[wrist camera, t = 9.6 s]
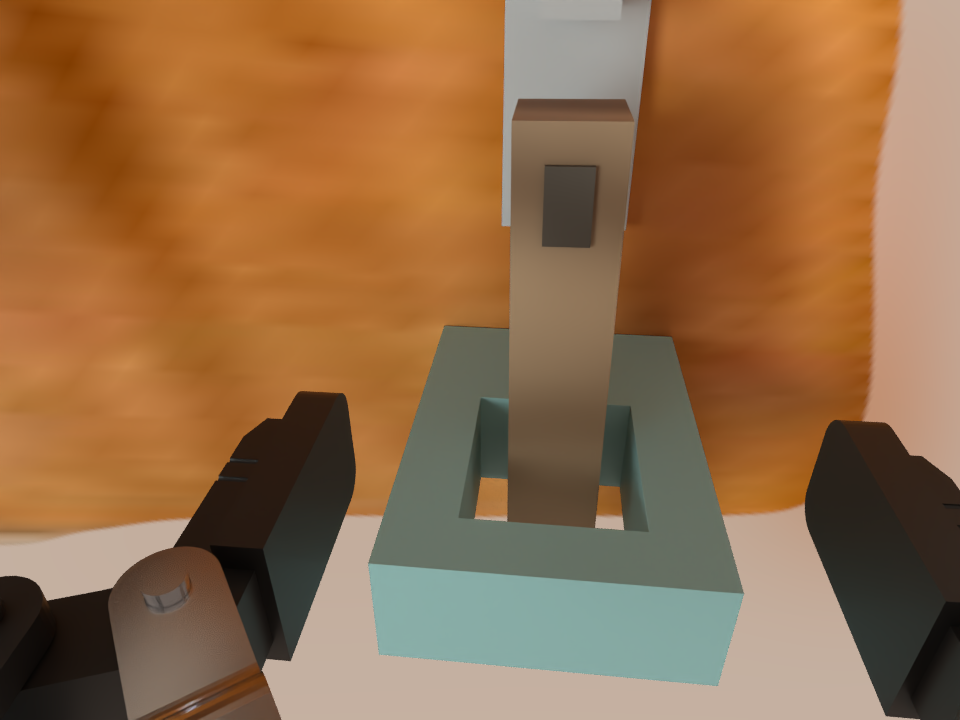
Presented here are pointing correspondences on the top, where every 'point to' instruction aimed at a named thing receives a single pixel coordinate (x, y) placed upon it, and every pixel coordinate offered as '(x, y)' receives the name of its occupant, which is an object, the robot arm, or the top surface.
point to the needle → (563, 300)
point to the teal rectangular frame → (556, 533)
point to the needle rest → (572, 59)
